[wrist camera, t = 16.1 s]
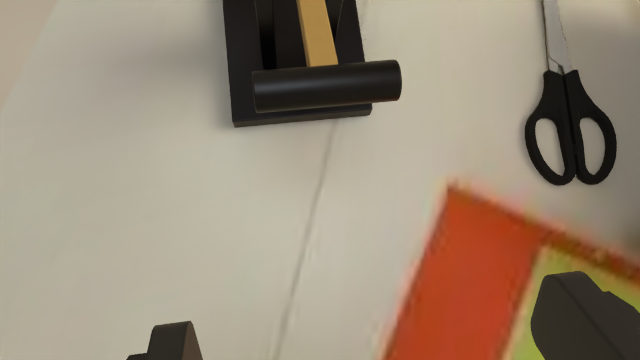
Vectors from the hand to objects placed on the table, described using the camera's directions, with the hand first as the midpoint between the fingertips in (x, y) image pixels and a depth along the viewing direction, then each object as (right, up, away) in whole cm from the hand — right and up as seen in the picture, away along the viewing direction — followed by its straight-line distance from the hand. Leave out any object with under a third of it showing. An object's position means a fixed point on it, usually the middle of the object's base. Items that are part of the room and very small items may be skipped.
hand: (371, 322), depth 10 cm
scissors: (+17, +13, +26) cm, 33 cm away
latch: (-2, +11, +11) cm, 16 cm away
